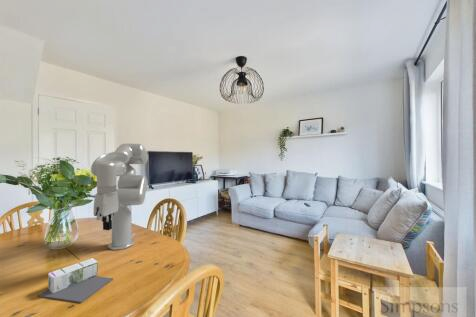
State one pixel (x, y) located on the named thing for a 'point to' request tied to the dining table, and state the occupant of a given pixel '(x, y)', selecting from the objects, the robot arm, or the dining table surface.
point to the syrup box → (72, 275)
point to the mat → (78, 290)
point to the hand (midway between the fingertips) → (107, 229)
